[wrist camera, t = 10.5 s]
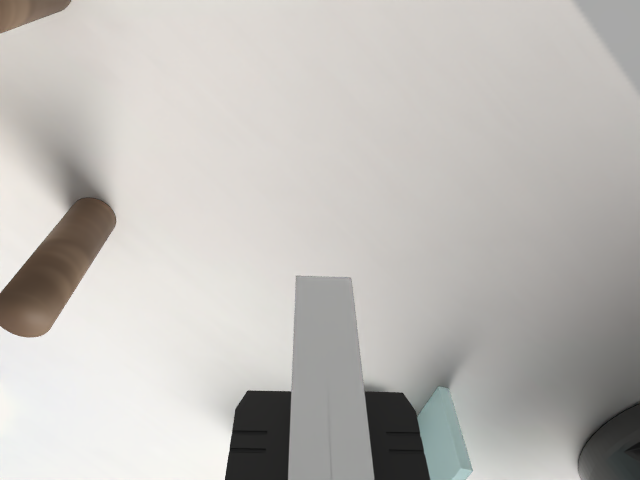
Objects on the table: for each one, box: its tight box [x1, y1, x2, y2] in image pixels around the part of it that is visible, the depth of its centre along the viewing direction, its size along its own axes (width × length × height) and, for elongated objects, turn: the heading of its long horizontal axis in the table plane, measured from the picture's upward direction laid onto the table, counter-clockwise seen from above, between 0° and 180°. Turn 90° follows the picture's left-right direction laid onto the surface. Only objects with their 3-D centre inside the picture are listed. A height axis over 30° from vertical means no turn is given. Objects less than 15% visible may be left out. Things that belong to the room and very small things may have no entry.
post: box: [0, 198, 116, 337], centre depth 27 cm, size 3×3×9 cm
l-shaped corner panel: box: [417, 386, 473, 480], centre depth 38 cm, size 12×12×8 cm
